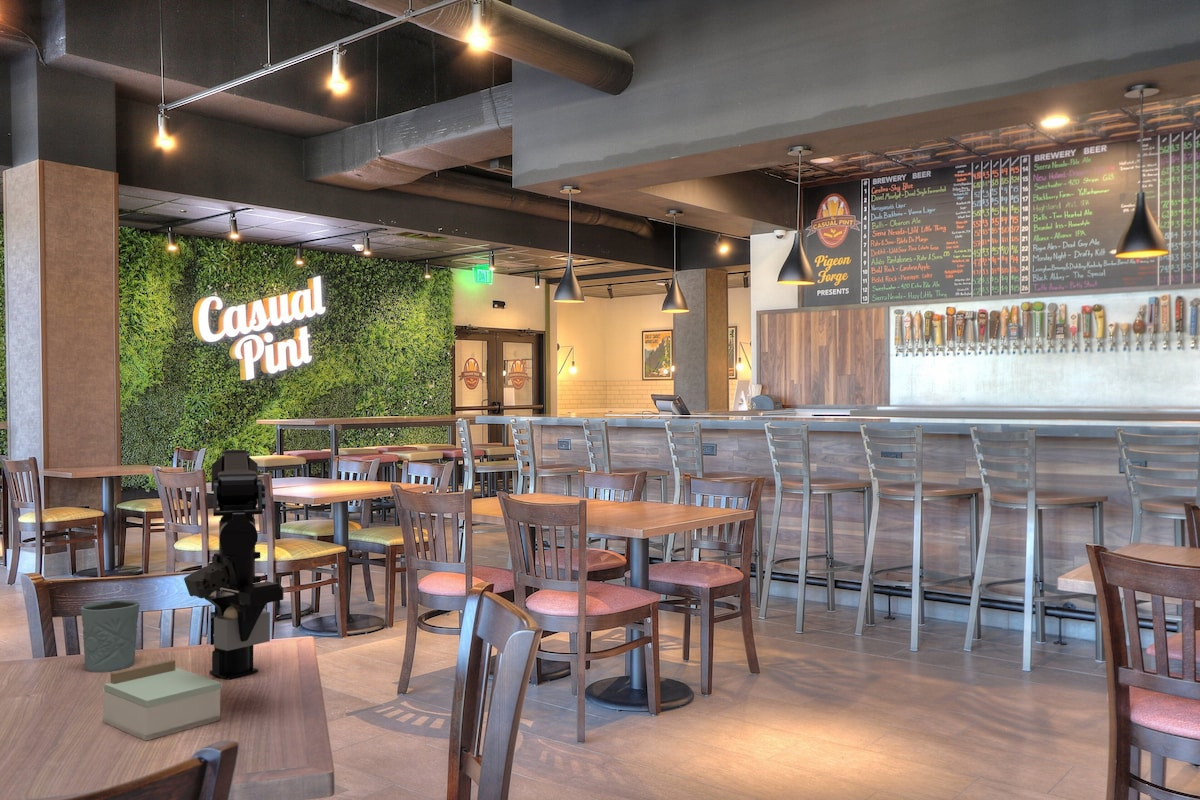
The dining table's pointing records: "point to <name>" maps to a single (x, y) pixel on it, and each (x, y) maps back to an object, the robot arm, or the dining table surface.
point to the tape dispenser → (229, 630)
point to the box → (160, 714)
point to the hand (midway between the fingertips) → (236, 639)
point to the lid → (158, 684)
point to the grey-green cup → (109, 634)
